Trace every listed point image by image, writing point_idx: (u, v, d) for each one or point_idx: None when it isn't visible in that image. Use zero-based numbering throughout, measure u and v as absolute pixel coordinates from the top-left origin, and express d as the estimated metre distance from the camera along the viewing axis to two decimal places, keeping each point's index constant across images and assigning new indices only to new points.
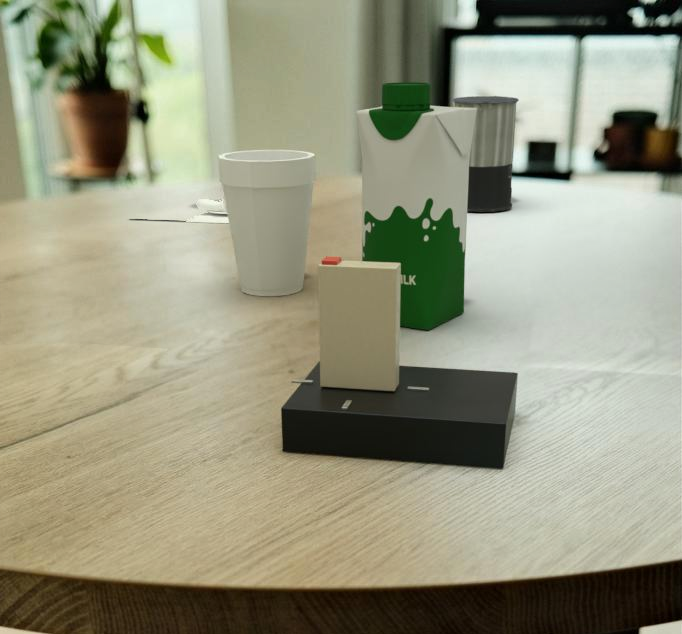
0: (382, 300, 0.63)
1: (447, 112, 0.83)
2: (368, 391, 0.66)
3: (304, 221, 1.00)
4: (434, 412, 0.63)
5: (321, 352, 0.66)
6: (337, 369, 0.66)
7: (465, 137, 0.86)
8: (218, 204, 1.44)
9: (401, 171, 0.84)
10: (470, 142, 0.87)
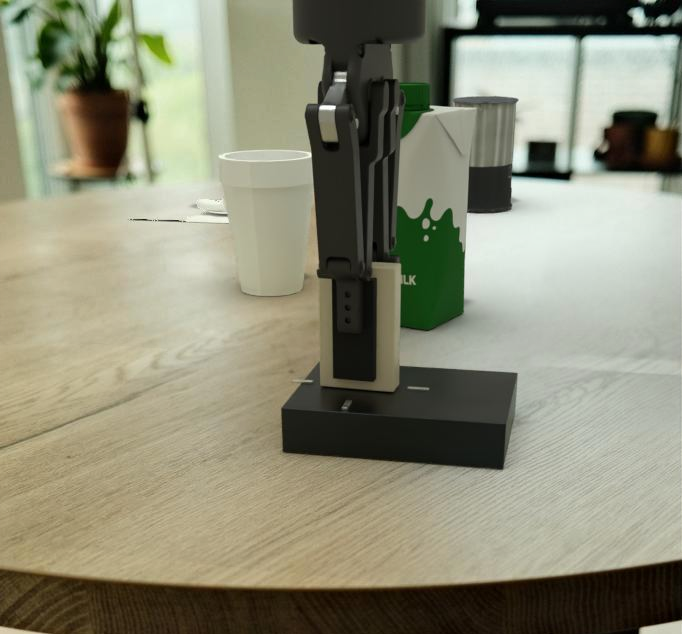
0: (380, 301, 0.63)
1: (447, 112, 0.83)
2: (368, 391, 0.66)
3: (304, 221, 1.00)
4: (434, 412, 0.63)
5: (321, 351, 0.66)
6: None
7: (465, 137, 0.86)
8: (218, 204, 1.44)
9: (401, 171, 0.84)
10: (470, 142, 0.87)
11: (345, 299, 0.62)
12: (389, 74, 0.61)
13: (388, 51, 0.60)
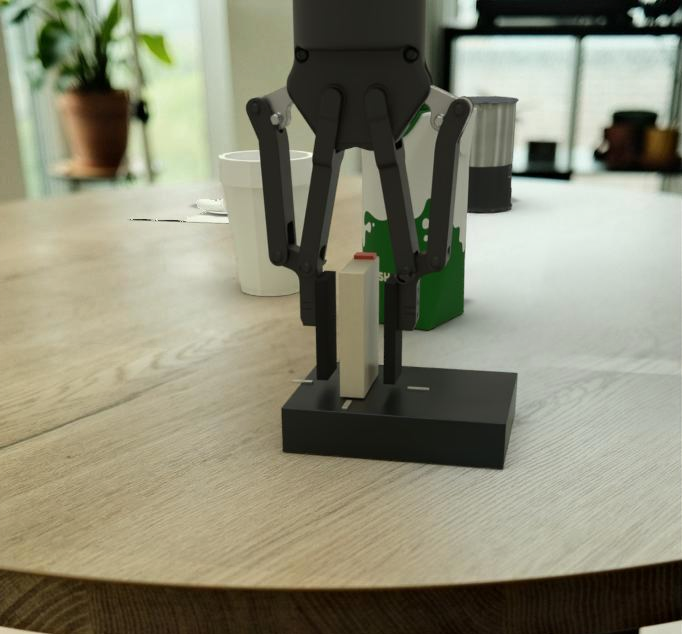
0: None
1: None
2: (368, 391, 0.66)
3: None
4: (434, 412, 0.63)
5: None
6: None
7: (465, 137, 0.86)
8: (218, 204, 1.44)
9: None
10: (470, 142, 0.87)
11: None
12: (403, 84, 0.58)
13: (398, 59, 0.57)
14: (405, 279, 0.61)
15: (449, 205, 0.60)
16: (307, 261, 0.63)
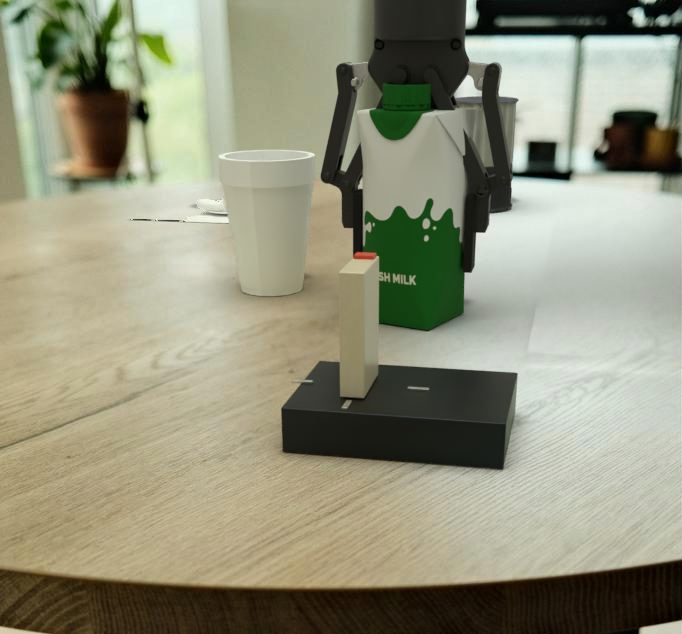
0: None
1: (447, 112, 0.83)
2: (368, 391, 0.66)
3: (304, 221, 1.00)
4: (434, 412, 0.63)
5: None
6: None
7: None
8: (218, 204, 1.44)
9: (401, 171, 0.84)
10: None
11: None
12: (449, 66, 0.83)
13: (447, 48, 0.83)
14: (483, 192, 0.86)
15: (502, 138, 0.85)
16: (349, 180, 0.89)
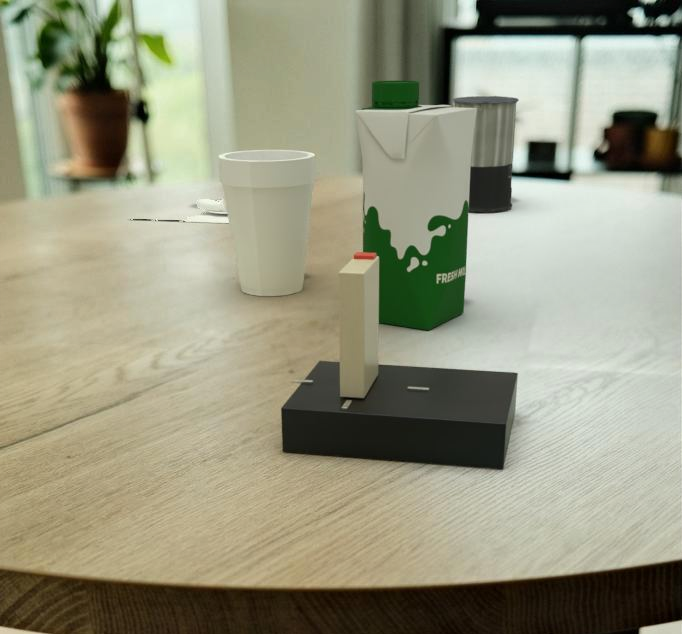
0: None
1: (376, 111, 0.84)
2: (368, 391, 0.66)
3: (304, 221, 1.00)
4: (434, 412, 0.63)
5: None
6: None
7: (398, 140, 0.84)
8: (218, 204, 1.44)
9: None
10: (415, 148, 0.83)
11: None
12: None
13: None
14: None
15: None
16: None
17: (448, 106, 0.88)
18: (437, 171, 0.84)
